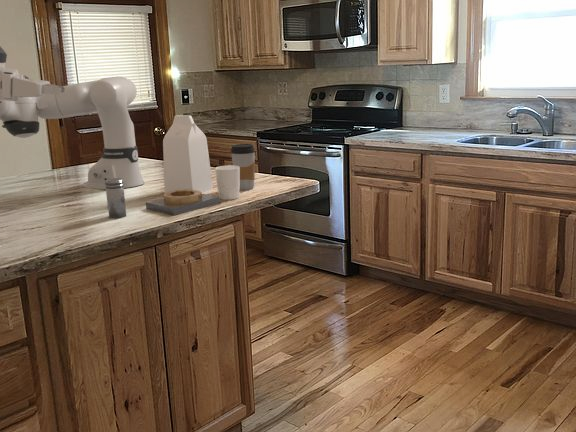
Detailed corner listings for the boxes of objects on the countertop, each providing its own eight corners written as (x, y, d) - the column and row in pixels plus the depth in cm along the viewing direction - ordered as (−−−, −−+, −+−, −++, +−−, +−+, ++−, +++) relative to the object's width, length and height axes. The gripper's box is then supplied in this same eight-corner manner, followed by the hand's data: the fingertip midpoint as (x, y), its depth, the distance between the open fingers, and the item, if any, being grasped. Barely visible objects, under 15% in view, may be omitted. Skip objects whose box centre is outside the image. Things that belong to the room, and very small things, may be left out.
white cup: (217, 195, 205) (215, 166, 203) (241, 194, 206) (239, 164, 203) (216, 201, 197) (214, 170, 195) (241, 199, 198) (239, 168, 196)
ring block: (174, 215, 182) (172, 202, 181) (146, 208, 191) (145, 196, 190) (220, 203, 194) (219, 190, 193) (192, 197, 204) (191, 185, 203)
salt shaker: (105, 218, 181) (101, 181, 179) (115, 213, 186) (111, 178, 183) (120, 218, 180) (116, 181, 177) (129, 214, 185) (126, 178, 182)
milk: (213, 189, 216) (207, 114, 209) (193, 196, 206) (186, 117, 199) (185, 186, 221) (179, 113, 214) (164, 193, 211) (157, 117, 205)
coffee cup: (253, 191, 210) (251, 147, 206) (230, 191, 211) (227, 147, 208) (259, 186, 218) (257, 143, 214) (236, 185, 219) (234, 143, 215)
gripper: (16, 94, 182) (66, 99, 185) (2, 98, 162) (58, 104, 166) (17, 72, 180) (67, 78, 184) (2, 73, 161) (59, 80, 164)
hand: (62, 90), depth 175 cm, fingers open, 8 cm apart
